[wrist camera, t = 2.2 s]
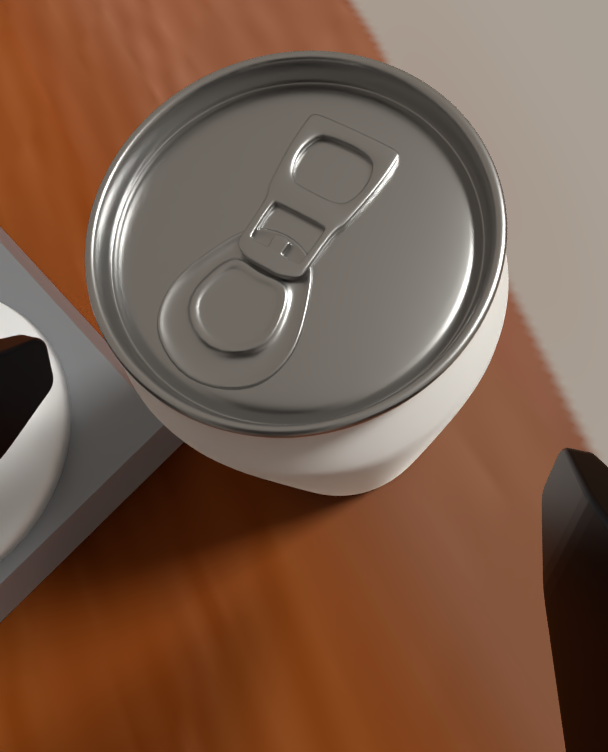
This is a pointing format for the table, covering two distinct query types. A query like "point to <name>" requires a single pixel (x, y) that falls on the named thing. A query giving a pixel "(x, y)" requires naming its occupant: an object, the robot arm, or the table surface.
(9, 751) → the table surface
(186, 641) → the table surface
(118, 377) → the scale
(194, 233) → the can
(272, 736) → the table surface
